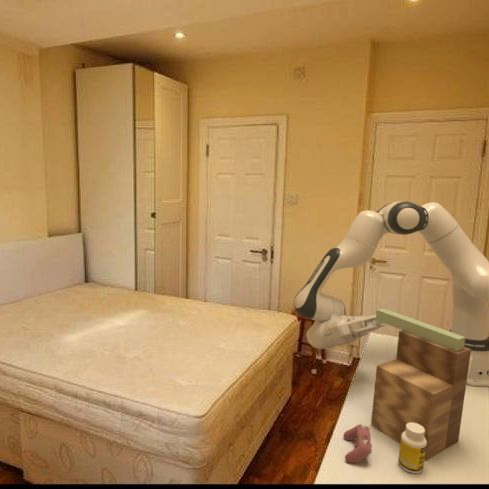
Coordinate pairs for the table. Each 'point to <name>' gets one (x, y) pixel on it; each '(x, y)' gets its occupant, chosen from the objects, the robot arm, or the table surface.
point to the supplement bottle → (412, 448)
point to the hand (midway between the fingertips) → (376, 321)
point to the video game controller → (358, 443)
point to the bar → (421, 329)
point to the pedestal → (422, 391)
